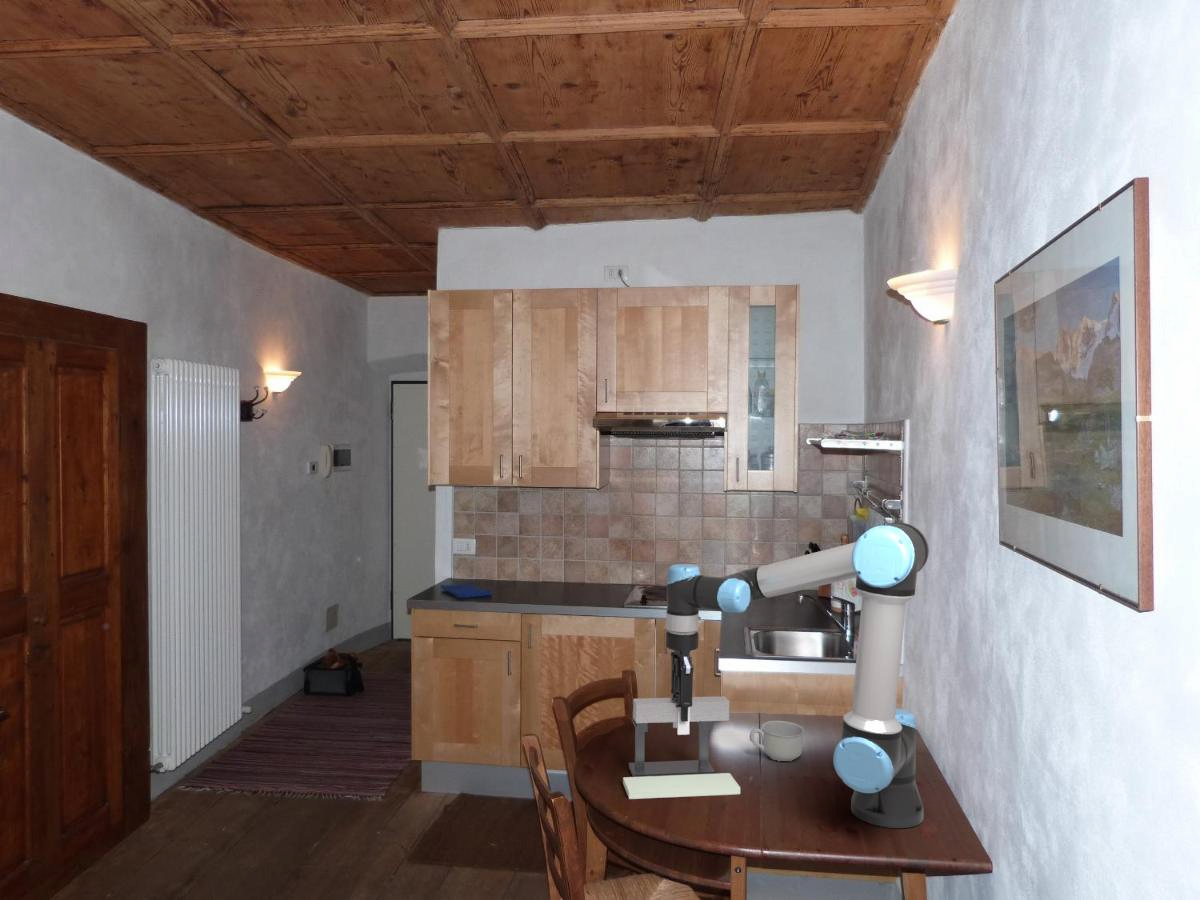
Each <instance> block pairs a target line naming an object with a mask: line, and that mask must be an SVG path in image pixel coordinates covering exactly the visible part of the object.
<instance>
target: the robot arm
mask: <svg viewBox="0 0 1200 900" xmlns="http://www.w3.org/2000/svg"><path fill="white" fill-rule="evenodd" d="M929 551H930V549H929V544H928V540H927V538H926V536H925V534H924V533H923V532H921V531H920V529H919V528H917V527H916V526H913V525H912V524H910V523H906V522H892V523H889V524H885V525H878V526H874V527H872V528H869V529H868V530H867V531H865V532H864V533H863V534H862V535H861V536H860V537H858V539H857V540H856V541H854V542H851V543H847V544H842V545H839V546H836V547H830V548H828V549H823V550H819V551H817V552H816V551H815V552H811V553H809V554H808V553H807V554H803V555H801V556H796V557H793V558H788V559H785V560H780V561H777V562H773V563H772V562H771V563H768V564H765V565H761V566H758V567H754V568H747V569H742V570H740V571H738V572H735V573H730V574H728V575H727V574H726V575H723V576H722V577H721V576H720V577H719V576H708V575H702V574H701V572H700V567H699V566H697V565H696V564H695V565H694V564H690V563H688V564H687V563H677V564H672V565H670V566H669V567H668V569H667V573H666V574H667V577H666V583H665V585H666V613H665V629H666V630H667V632H666V633H665V641H666V642H665V646H666V648H667V649H669V650H671V652H670V657H671V658H670V659H671V660H670V661H671V672H670V673H671V675H670V676H671V677H670V678H671V685H670V686H671V689H670V690H671V691H670V693H671V695H672V698H678V697H679V704H676V707H678V708H677V722H672V728H673V729H676V730H677V731H676V733H677V735H678V736H681V735H683V736H686V735H690V722H689V719H690V707H692V697H693V689H694V688H693V687H694V685H693V684H694V683H693V682H694V681H693V677H694V669H695V667H694V664H693V657H692V656H691V653H690V652H691V651H695V650H698V647H699V633H698V632H697V631H699V621H701V619H702V618H701V616H699V611H700V610H699V609H704V610H709V611H717V612H725V613H727V614H732V613H733V614H742V613H745V611H746V610H747V608H748V607H749V605H750V603H752V602H756V601H761V600H764V599H768V598H773V597H777V596H781V595H785V594H790V593H794V592H799V591H803V590H807V589H813V588H815V587H816V588H817V587H820V586H825V585H829V584H833V583H839V582H843V581H847V580H852V579H855V587H854V588H855V590H856V591H857V592H858V594H859V595H860V596H861V606H860V607H861V608H860V617H859V626H858V627H859V629H858V639H857V649H856V659H855V660H856V661H855V671H854V683H853V691H852V692H853V693H852V702H851V710H850V711H848V712H847V713H845V714H844V715H843V719H842V729H841V739H840V740H839V742H838V743H837V744H836V746H835V749H834V752H833V757H832V758H833V767H834V769H835V770H834V771H835V772H836V774H837V776H838V777H839V778H840V779H841V780H842V782H843V783H844V784H845V785H846V786H848V787H849V788H851V789H852V790H853V792H852V793H853V794H852V796H851V801H850V804H851V805H850V810H851V813H852V815H854V816H855V817H856V818H858V819H860V820H861V821H863V822H865V823H868V824H870V825H874V826H879V827H883V828H888V829H889V828H890V829H906V828H907V829H909V828H912V827H916V826H918V825H920V824H921V823H922V822H923V821H924V805H923V802H922V799H921V796H920V793H919V789H918V787H917V784H916V765H917V764H916V763H917V762H916V759H917V758H916V756H917V755H916V754H917V753H916V751H917V749H916V748H917V746H916V745H917V730H918V727H917V721H916V717H915V715H914V714H913V713H912V712H910V711H908V710H905V709H901V708H897V699H898V691H899V681H900V671H901V670H900V668H901V658H902V649H903V648H902V647H903V636H904V628H905V615H906V614H905V613H906V606H907V603H908V602H909V601H910V600H911V599H913V598H914V597H915V595H916V586H917V585H916V584H917V576H918V573H919V572H920V571H921V570H922V569H923V568H924V566H925V565H926V563H927V562H928V559H929V555H930V552H929Z"/></svg>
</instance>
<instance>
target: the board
mask: <svg viewBox="0 0 1200 900" xmlns="http://www.w3.org/2000/svg"><path fill="white" fill-rule="evenodd" d="M622 784H623V787H624V789H625V792H626V795H627V796H628V800H638V799H640V800H641V799H657V798H659V799H660V798H679V797H680V798H681V797H684V798H685V797H686V798H687V797H702V796H703V797H705V796H706V797H707V796H709V797H710V796H729V795H730V796H731V795H741V786H740V785H739V784H738V782H737V781H736V780H735V778H734V776H733V775H732V774H731V773H730V772H721V773H715V774H695V775H670V776H646V777H633V776H629V777H628V776H627V777H625V776H624V777H622Z"/></svg>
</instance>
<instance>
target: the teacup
mask: <svg viewBox="0 0 1200 900" xmlns="http://www.w3.org/2000/svg"><path fill="white" fill-rule="evenodd" d="M761 728H762V729H760V728H753V729H752V730H751V731H750V732H749V739H750V742H751V743H752V744H753V745H754V746H755V747H757V748H759V750H760V751H761V752H764V753H765V754H766V755H767V756H768V757H769V758H770V759H771V760H774V761H776V760H777V761H776V762H780V761H790V762H793V761H794V759H795V760H796V759H797V758H799V757H800V756H801V755H802V753H803V749H804V734H805V729H804V728H803V726H801V725H799V724H797V723H794V722H792V721H786V720H769V721H766V722H764V723H763V724H762V725H761ZM756 734H760V738H761V743H759V742H757V741H756V740H755V738H754V736H755V735H756ZM792 760H793V761H792Z"/></svg>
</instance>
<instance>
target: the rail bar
mask: <svg viewBox="0 0 1200 900" xmlns="http://www.w3.org/2000/svg"><path fill="white" fill-rule="evenodd" d="M632 700H633V707H632V719H633V718H634V720H635V722H636V723H648V724H651V723H653V724H654V723H659V724H662V723H673V722H677V708H678V707H676V704H679V697H678V698H673V697H650V698H649V697H648V698H646V697H645V698H641V697H639V698H633V699H632ZM697 721H713V722H722V721H723V722H725V721H730V700H729V699H728V698H727V697H726V696H725V695H723V696H692V707H690V719H689V723H690V722H697Z"/></svg>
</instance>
